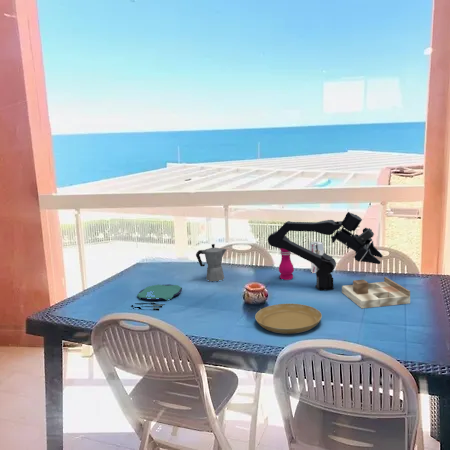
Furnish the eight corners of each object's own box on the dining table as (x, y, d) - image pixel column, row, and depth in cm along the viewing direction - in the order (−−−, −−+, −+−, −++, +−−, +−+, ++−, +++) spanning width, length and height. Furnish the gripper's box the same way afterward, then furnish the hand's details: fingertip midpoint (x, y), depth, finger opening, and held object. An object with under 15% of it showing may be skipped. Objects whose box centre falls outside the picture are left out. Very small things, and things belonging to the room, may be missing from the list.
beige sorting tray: (361, 308, 177) (361, 296, 177) (342, 292, 197) (341, 281, 196) (410, 303, 180) (410, 291, 179) (385, 288, 199) (385, 277, 199)
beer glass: (325, 270, 231) (324, 241, 228) (322, 274, 225) (321, 244, 222) (311, 269, 234) (311, 241, 231) (308, 273, 228) (307, 244, 225)
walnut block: (357, 294, 185) (357, 283, 184) (353, 291, 189) (353, 280, 188) (368, 293, 185) (368, 282, 185) (363, 289, 190) (363, 279, 189)
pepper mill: (284, 281, 218) (283, 240, 214) (276, 277, 224) (274, 237, 220) (297, 278, 221) (295, 238, 217) (288, 275, 227) (287, 235, 224)
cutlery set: (188, 288, 215) (187, 284, 215) (162, 312, 187) (162, 307, 187) (149, 287, 221) (149, 283, 221) (119, 311, 193) (118, 306, 192)
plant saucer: (276, 342, 152) (275, 333, 152) (244, 319, 174) (244, 311, 174) (335, 327, 162) (335, 318, 161) (298, 307, 183) (298, 299, 183)
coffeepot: (226, 275, 233) (224, 240, 230) (230, 280, 224) (228, 244, 221) (196, 278, 230) (193, 244, 227) (199, 284, 221) (196, 247, 218)
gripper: (356, 229, 185) (390, 251, 181) (362, 219, 201) (393, 239, 198) (341, 251, 189) (374, 272, 186) (348, 239, 206) (379, 259, 202)
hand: (381, 259), depth 193 cm, fingers open, 9 cm apart
